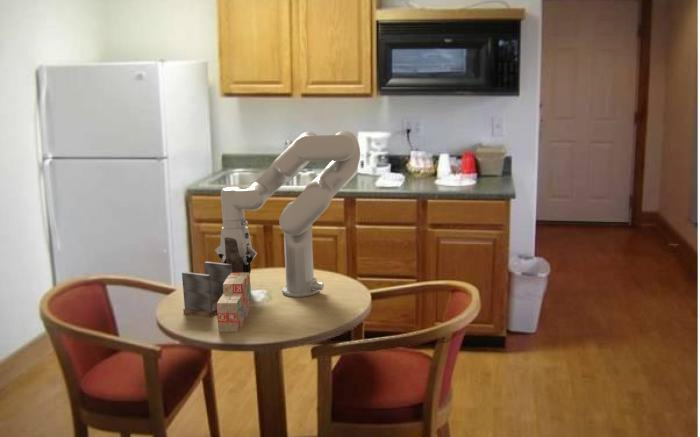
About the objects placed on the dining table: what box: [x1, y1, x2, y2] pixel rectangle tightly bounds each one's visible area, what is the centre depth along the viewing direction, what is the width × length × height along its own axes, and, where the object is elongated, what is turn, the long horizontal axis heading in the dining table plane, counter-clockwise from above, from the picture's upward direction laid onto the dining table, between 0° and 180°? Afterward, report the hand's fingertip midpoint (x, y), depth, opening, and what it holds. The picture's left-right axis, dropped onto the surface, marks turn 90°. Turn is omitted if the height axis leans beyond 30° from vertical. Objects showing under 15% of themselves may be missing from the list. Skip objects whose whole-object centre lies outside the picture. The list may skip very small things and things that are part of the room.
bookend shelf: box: [181, 261, 232, 318], centre depth 249 cm, size 10×15×14 cm, turn 155°
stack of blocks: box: [216, 272, 253, 333], centre depth 239 cm, size 21×6×12 cm, turn 176°
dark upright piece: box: [225, 238, 245, 273], centre depth 263 cm, size 8×7×20 cm
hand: (237, 273), depth 264 cm, fingers closed on dark upright piece, 7 cm apart
